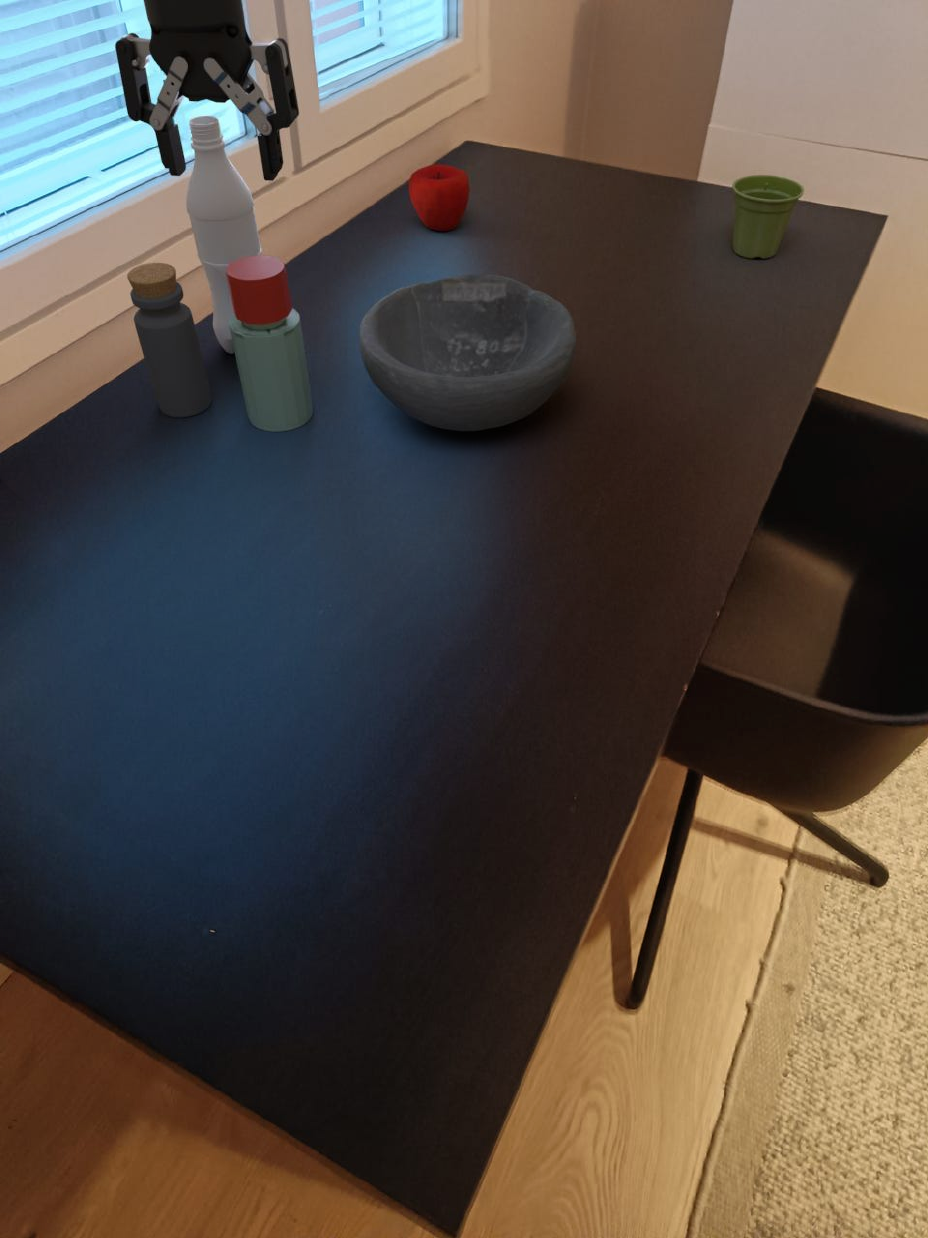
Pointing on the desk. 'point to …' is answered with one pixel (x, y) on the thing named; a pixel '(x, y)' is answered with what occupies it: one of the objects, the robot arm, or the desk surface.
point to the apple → (439, 195)
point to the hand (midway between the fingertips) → (224, 175)
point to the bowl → (467, 350)
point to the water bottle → (219, 218)
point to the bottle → (169, 341)
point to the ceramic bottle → (273, 372)
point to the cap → (259, 289)
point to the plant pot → (762, 213)
